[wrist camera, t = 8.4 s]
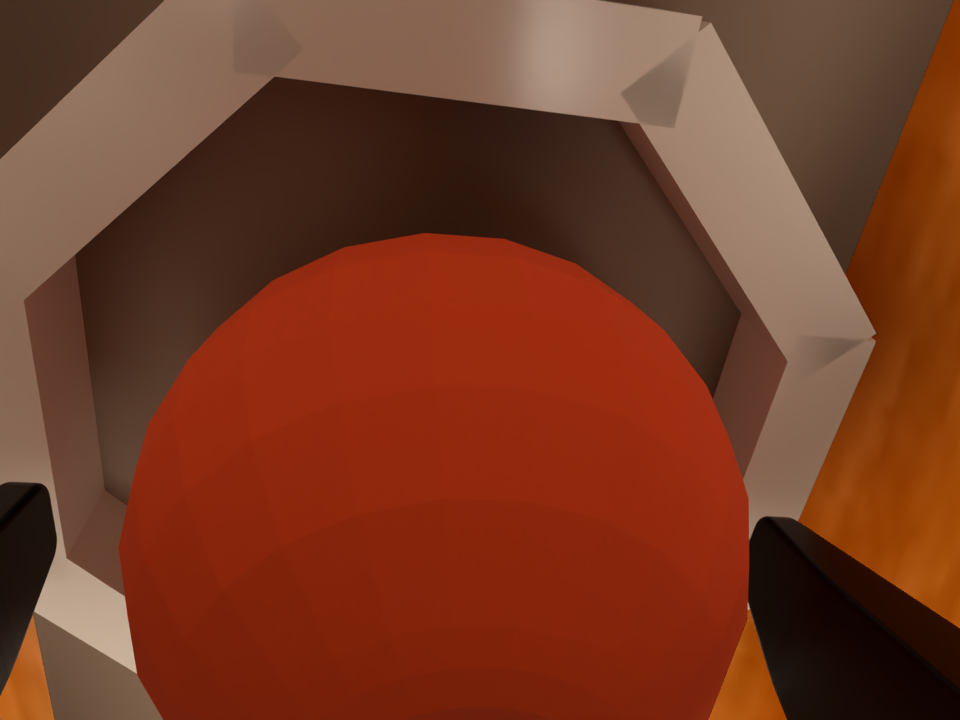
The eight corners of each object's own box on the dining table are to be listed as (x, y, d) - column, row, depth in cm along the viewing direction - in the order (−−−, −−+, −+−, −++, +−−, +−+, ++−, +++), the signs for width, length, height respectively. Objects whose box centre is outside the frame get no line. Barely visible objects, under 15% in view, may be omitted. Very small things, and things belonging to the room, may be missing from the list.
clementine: (333, 622, 14) (279, 1144, 8) (52, 363, 11) (-403, 891, 5) (709, 425, 13) (1003, 874, 6) (510, 61, 10) (713, 254, 3)
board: (1050, -390, 9) (1123, -430, 8) (626, 761, 19) (637, 800, 18) (-173, -713, 7) (-259, -812, 6) (90, 765, 17) (72, 809, 16)
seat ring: (913, 48, 10) (998, 61, 9) (677, 666, 16) (704, 735, 14) (-86, -106, 8) (-185, -120, 7) (59, 659, 14) (21, 737, 12)
